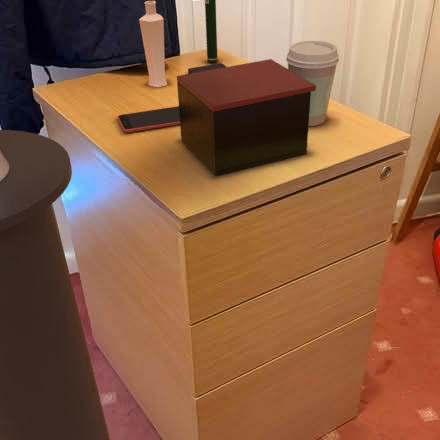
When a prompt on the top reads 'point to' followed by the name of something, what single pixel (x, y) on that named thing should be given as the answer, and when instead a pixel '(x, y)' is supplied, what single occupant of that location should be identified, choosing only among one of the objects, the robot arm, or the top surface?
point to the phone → (206, 68)
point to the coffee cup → (315, 73)
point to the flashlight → (211, 30)
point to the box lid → (244, 84)
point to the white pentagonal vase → (154, 44)
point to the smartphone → (149, 119)
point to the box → (244, 131)
